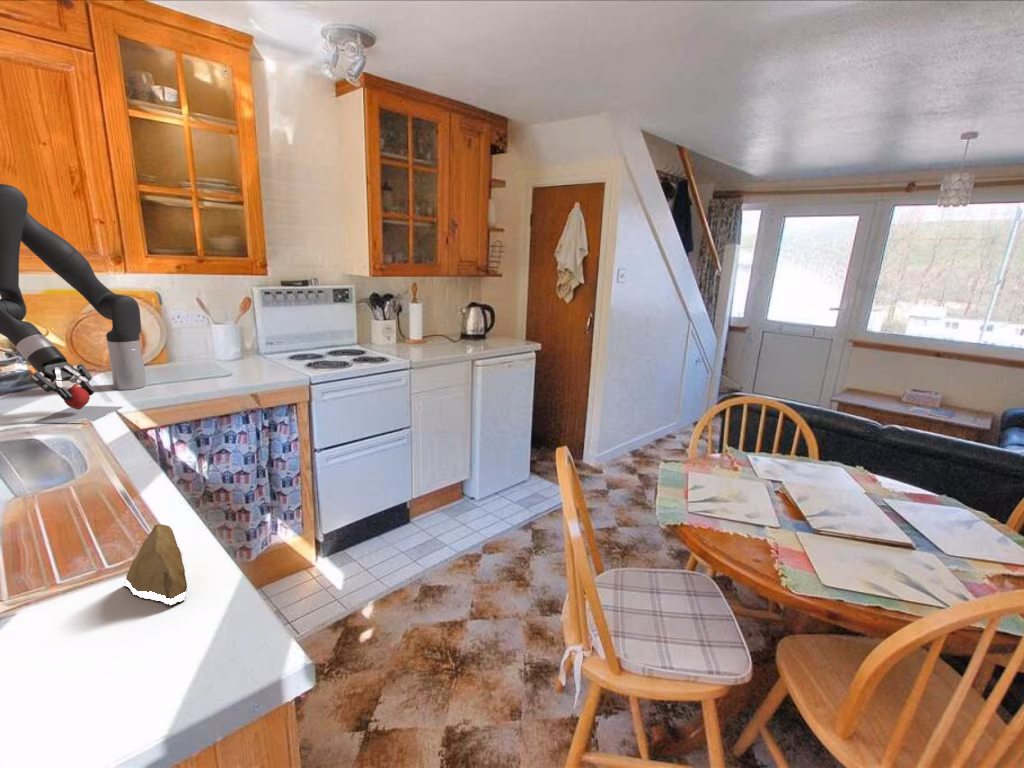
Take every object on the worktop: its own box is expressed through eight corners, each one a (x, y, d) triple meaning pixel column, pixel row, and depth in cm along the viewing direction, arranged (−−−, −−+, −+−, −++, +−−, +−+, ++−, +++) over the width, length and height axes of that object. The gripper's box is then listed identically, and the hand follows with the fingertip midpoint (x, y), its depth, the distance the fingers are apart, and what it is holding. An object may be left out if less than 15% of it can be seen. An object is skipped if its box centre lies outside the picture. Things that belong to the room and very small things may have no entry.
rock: (207, 585, 75) (203, 545, 83) (160, 559, 70) (161, 519, 78) (142, 639, 73) (144, 592, 80) (89, 615, 68) (96, 568, 75)
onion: (76, 413, 146) (72, 387, 144) (60, 411, 147) (56, 385, 145) (96, 408, 151) (92, 382, 149) (80, 405, 152) (76, 380, 150)
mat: (73, 406, 156) (73, 405, 156) (122, 407, 158) (122, 406, 158) (32, 423, 141) (32, 422, 141) (86, 424, 143) (86, 422, 142)
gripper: (19, 349, 139) (62, 394, 140) (72, 341, 152) (110, 383, 153) (7, 366, 141) (49, 410, 142) (60, 357, 155) (98, 397, 156)
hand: (81, 396), depth 148 cm, fingers open, 6 cm apart
